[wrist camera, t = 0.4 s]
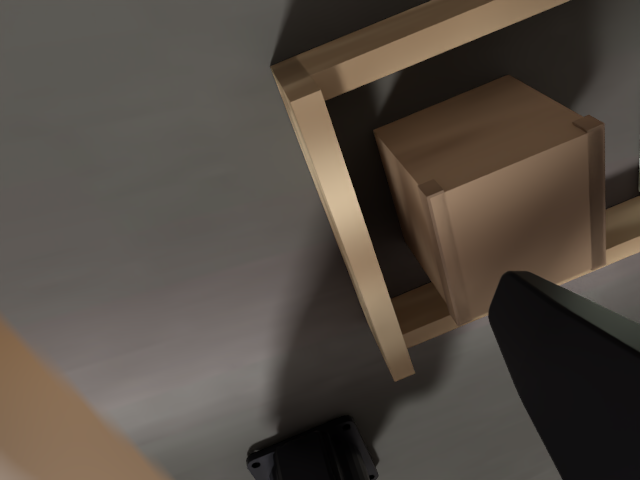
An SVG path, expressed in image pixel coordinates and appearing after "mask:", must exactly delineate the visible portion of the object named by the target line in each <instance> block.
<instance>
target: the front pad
mask: <svg viewBox="0 0 640 480" xmlns="http://www.w3.org/2000/svg"><path fill="white" fill-rule="evenodd" d="M639 192H640V160H639Z"/></svg>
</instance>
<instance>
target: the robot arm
mask: <svg viewBox="0 0 640 480" xmlns="http://www.w3.org/2000/svg"><path fill="white" fill-rule="evenodd" d="M488 318H489V322H490V325H491V328H492V330H493V333H494V335H495V338H496V340H497V343H498V345H499V348H500V350H501V353H502V355H503V358H504V360H505V363H506V365H507V368H508V370H509V373H510V375H511V378H512V380H513V383H514V385H515V387H516V390H517V392H518V394H519V396H520V398H521V400H522V402H523V405H524V407H525V409H526V410H527V412H528V414H529V416H530V418H531V420H532V422H533V424H534V426H535V428H536V430H537V432H538V433H539V435H540V437H541V439H542V441H543V443H544V445H545V447H546V449H547V451H548V453H549V455H550V456H551V458H552V460H553V462H554V464H555V466H556V468H557V470H558V472H559V474H560V476H561V478H562V479H563V480H640V324H639V323H636V322H634V321H632V320H630V319H628V318H626V317H624V316H622V315H620V314H618V313H615V312H613V311H611V310H609V309H607V308H605V307H603V306H601V305H599V304H596V303H594V302H592V301H590V300H588V299H586V298H584V297H582V296H580V295H578V294H575V293H573V292H571V291H569V290H567V289H565V288H563V287H561V286H559V285H557V284H554V283H552V282H550V281H548V280H546V279H544V278H542V277H540V276H538V275H535V274H533V273H531V272H529V271H507V272H505V273H504V274H503V275H502V276H501V278H500V280H499V283H498V286H497V288H496V291H495V293H494V296H493V299H492V301H491V304H490V307H489V311H488ZM246 462H247V468H248V470H249V471H250V472H251V474H252V475H253V476H254V478H255V479H256V480H376V479H377V478H378V472H377V469H376V467H375V465H374V463H373V461H372V459H371V456H370V454H369V452H368V450H367V448H366V446H365V444H364V442H363V440H362V437H361V435H360V433H359V431H358V429H357V427H356V425H355V423H354V421H353V418H352V417H350V416H343V417H340V418H338V419H335V420H333V421H331V422H328V423H326V424H323V425H321V426H319V427H316V428H314V429H311V430H309V431H307V432H304V433H302V434H299V435H297V436H295V437H292V438H290V439H288V440H285V441H283V442H280V443H278V444H276V445H273V446H271V447H268V448H266V449H264V450H261V451H259V452H256V453H254V454H252V455H250V456H249V457H248V458H247V460H246Z"/></svg>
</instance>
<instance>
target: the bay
mask: <svg viewBox="0 0 640 480" xmlns="http://www.w3.org/2000/svg"><path fill="white" fill-rule="evenodd" d="M567 1H570V0H431V1H429V2H426V3H424V4H421V5H419V6H416V7H414V8H411V9H409V10H407V11H404V12H402V13H399V14H397V15H394V16H392V17H389V18H387V19H385V20H382V21H380V22H377V23H375V24H372V25H370V26H367V27H365V28H362V29H360V30H358V31H355V32H353V33H350V34H348V35H345V36H343V37H340V38H338V39H336V40H333V41H331V42H328V43H326V44H323V45H321V46H318V47H316V48H313V49H311V50H309V51H306V52H304V53H301V54H299V55H296V56H294V57H291V58H289V59H287V60H284V61H282V62H279V63H277V64H274V65H272V66H270V68H271V70H272V73H273V76H274V78H275V81H276V84H277V86H278V89H279V91H280V94H281V97H282V99H283V102H284V105H285V107H286V110H287V113H288V115H289V118H290V120H291V123H292V126H293V128H294V131H295V134H296V136H297V139H298V141H299V144H300V147H301V149H302V152H303V155H304V157H305V160H306V162H307V165H308V168H309V170H310V173H311V176H312V178H313V181H314V183H315V186H316V189H317V191H318V194H319V197H320V199H321V202H322V205H323V207H324V210H325V212H326V215H327V218H328V220H329V223H330V226H331V228H332V231H333V233H334V236H335V239H336V241H337V244H338V247H339V249H340V252H341V254H342V257H343V260H344V262H345V265H346V268H347V270H348V273H349V275H350V278H351V281H352V283H353V286H354V289H355V291H356V294H357V297H358V299H359V302H360V304H361V307H362V310H363V312H364V315H365V318H366V320H367V323H368V325H369V327H370V330H371V332H372V334H373V336H374V338H375V340H376V343H377V345H378V347H379V349H380V351H381V353H382V356H383V358H384V360H385V362H386V364H387V366H388V368H389V371H390V373H391V375H392V377H393V379H394V381H395V382H396V381H398V380H400V379H403V378H405V377H408V376H410V375H412V374H415V371H414V368H413V365H412V362H411V359H410V356H409V353H408V350H407V349H408V348H410V347H413V346H415V345H417V344H420V343H422V342H425V341H427V340H429V339H432V338H434V337H437V336H439V335H441V334H444V333H446V332H449V331H451V330H453V329H456V328H458V327H461V326H463V325H465V324H463V325H461V326H457V324H456V323H455V321H454V320H453V318H452V317H451V315H450V314H449V311H448V307H447V304H446V302H445V301H444V299H443V298H442V296H441V295H440V293H439V292H438V290H437V289H436V287H435V286H434V284H433V283H432V282H430V283H428V284H426V285H423V286H421V287H418V288H416V289H414V290H411V291H409V292H406V293H404V294H402V295H399V296H397V297H394V298H392V299H390V296H389V293H388V290H387V287H386V284H385V281H384V278H383V275H382V272H381V269H380V266H379V263H378V260H377V257H376V254H375V251H374V248H373V245H372V242H371V239H370V236H369V233H368V230H367V227H366V224H365V221H364V218H363V215H362V212H361V209H360V206H359V203H358V200H357V197H356V194H355V191H354V188H353V185H352V182H351V179H350V176H349V173H348V170H347V167H346V164H345V161H344V158H343V155H342V152H341V149H340V146H339V143H338V140H337V137H336V134H335V131H334V128H333V125H332V122H331V119H330V116H329V113H328V110H327V107H326V104H325V101H326V100H328V99H331V98H333V97H336V96H338V95H341V94H343V93H345V92H348V91H350V90H353V89H355V88H358V87H360V86H362V85H365V84H367V83H370V82H372V81H375V80H377V79H380V78H382V77H384V76H387V75H389V74H392V73H394V72H397V71H399V70H402V69H404V68H406V67H409V66H411V65H414V64H416V63H419V62H421V61H423V60H426V59H428V58H431V57H433V56H436V55H438V54H441V53H443V52H445V51H448V50H450V49H453V48H455V47H458V46H460V45H463V44H465V43H467V42H470V41H472V40H475V39H477V38H480V37H482V36H484V35H487V34H489V33H492V32H494V31H497V30H499V29H502V28H504V27H506V26H509V25H511V24H514V23H516V22H519V21H521V20H523V19H526V18H528V17H531V16H533V15H536V14H538V13H541V12H543V11H545V10H548V9H550V8H553V7H555V6H558V5H560V4H563V3H565V2H567ZM605 211H606V265H604V266H607V265H609V264H612V263H614V262H616V261H619V260H621V259H624V258H626V257H628V256H631V255H633V254H636V253H638V252H640V196H637V197H635V198H632V199H630V200H628V201H625V202H623V203H620V204H618V205H616V206H613V207H611V208H608V209H606V210H605ZM604 266H602V267H604ZM602 267H600V268H602ZM600 268H597V269H600ZM597 269H595V270H597ZM595 270H591V269H590V270H588V271H585V272H583V273H581V274H578V275H576V276H573V277H571V278H569V279H566V280H564V281H562V282H559V283H557V285H561V284H564V283H566V282H568V281H571V280H573V279H576V278H578V277H580V276H583V275H585V274H588V273H590V272H592V271H595ZM487 315H488V312H487V313H485V314H482V315H480V316H478V317H475V318H473V319H472V321H470V322H473V321H475V320H477V319H480V318H482V317H485V316H487ZM470 322H468V323H470ZM468 323H466V324H468Z"/></svg>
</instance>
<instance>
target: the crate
mask: <svg viewBox="0 0 640 480" xmlns="http://www.w3.org/2000/svg"><path fill="white" fill-rule="evenodd" d="M373 132H374V136H375V139H376V143H377V146H378V150H379V153H380V157H381V160H382V164H383V167H384V171H385V174H386V177H387V181H388V184H389V188H390V191H391V195H392V198H393V202H394V205H395V209H396V212H397V216H398V219H399V223H400V226H401V230H402V233H403V237H404V240H405V242H406V244H407V245H408V247H409V248H410V250H411V251H412V253H413V254H414V256H415V257H416V259H417V260H418V262H419V263H420V265H421V266H422V268H423V269H424V271H425V272H426V274H427V275H428V277H429V278H430V280H431V281H432V283H433V284H434V286H435V287H436V289H437V290H438V292H439V293H440V295H441V296H442V298H443V299H444V301H445V302H446V304H447V307H448V311H449V314H450V315H451V317H452V318H453V320H454V321H455V323H456V324H457V326H461V325H463V324H466V323H468V322H470V321H472V319H473V318H475V317H478V316H480V315H482V314H485V313H487V312H488V311H489V307H490V304H491V301H492V299H493V296H494V293H495V291H496V288H497V286H498V283H499V280H500V278H501V276H502V275H503V274H504V273H505V272H507V271H529V272H531V273H533V274H535V275H538V276H540V277H542V278H544V279H546V280H548V281H550V282H552V283H554V284H557V283H559V282H562V281H564V280H566V279H569V278H571V277H573V276H576V275H578V274H581V273H583V272H585V271H588V270H590V269H591V270H595V269H597V268H600V267H602V266H604V265H606V211H605V127H604V123H603V122H601V121H599V120H597V119H596V118H594V117H592V116H590V115H587V116H585V117H583V116H581V115H579V114H577V113H575V112H574V111H572V110H570V109H568V108H567V107H565V106H563V105H561V104H560V103H558V102H556V101H554V100H553V99H551V98H549V97H547V96H545V95H544V94H542V93H540V92H538V91H537V90H535V89H533V88H531V87H530V86H528V85H526V84H524V83H523V82H521V81H519V80H517V79H515V78H514V77H512V76H510V75H506V76H503V77H501V78H499V79H496V80H494V81H491V82H489V83H486V84H484V85H482V86H479V87H477V88H474V89H472V90H469V91H467V92H465V93H462V94H460V95H457V96H455V97H452V98H450V99H448V100H445V101H443V102H440V103H438V104H435V105H433V106H431V107H428V108H426V109H423V110H421V111H418V112H416V113H413V114H411V115H409V116H406V117H404V118H401V119H399V120H396V121H394V122H392V123H389V124H387V125H384V126H382V127H379V128H377V129H375V130H373Z"/></svg>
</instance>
